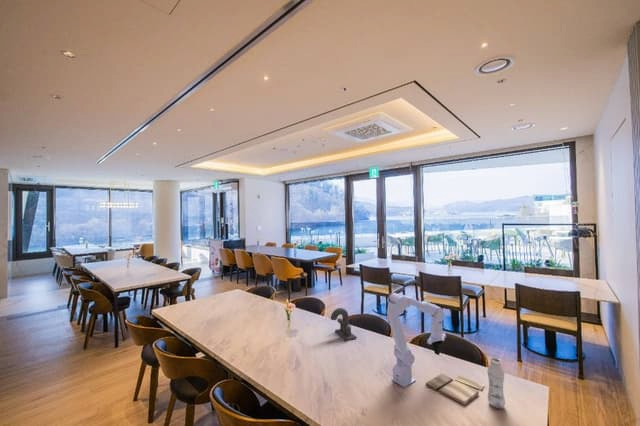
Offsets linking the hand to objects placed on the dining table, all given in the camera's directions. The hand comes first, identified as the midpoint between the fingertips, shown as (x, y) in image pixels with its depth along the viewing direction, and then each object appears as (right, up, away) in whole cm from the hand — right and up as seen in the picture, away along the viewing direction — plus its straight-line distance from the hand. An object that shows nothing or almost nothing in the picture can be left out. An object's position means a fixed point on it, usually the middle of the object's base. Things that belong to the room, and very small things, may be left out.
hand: (437, 353), depth 147 cm
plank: (+12, -10, -10) cm, 19 cm away
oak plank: (+3, -9, -18) cm, 20 cm away
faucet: (-48, -12, +46) cm, 68 cm away
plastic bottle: (+15, -9, -27) cm, 32 cm away
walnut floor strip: (-3, -10, -10) cm, 14 cm away
